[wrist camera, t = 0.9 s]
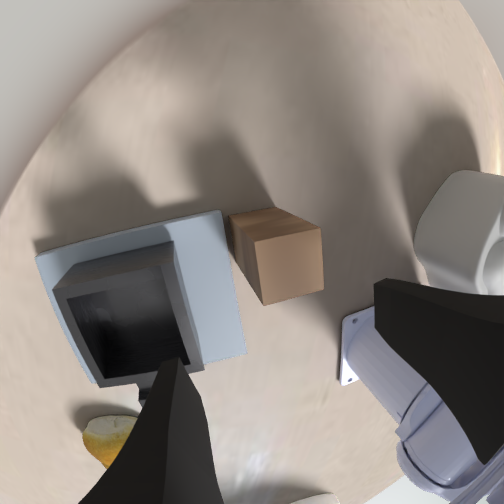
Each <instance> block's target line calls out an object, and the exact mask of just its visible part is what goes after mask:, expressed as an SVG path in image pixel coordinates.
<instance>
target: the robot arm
mask: <svg viewBox="0 0 504 504" xmlns="http://www.w3.org/2000/svg"><path fill="white" fill-rule="evenodd" d="M353 319H354V321H353ZM358 379H360V380H361V381H362V382H363V383H364V385H365V386H366V387H367V388H368V389H369V390H370V392H371V393H372V394H373V395H374V396H375V397H376V399H377V400H378V401H379V402H380V403H381V404H382V406H383V407H384V408H385V409H386V410H387V412H388V413H389V414H390V415H391V416H392V417H393V419H394V420H395V421H396V422H397V423H398V424H399V427H398V428H397V429H396V430H395V432H396V434H397V435H398V436H399V437H400V439H401V440H400V441H399V442H398V444H397V447H396V448H397V460H398V463H399V465H400V467H401V469H402V471H403V472H404V474H405V475H406V476H407V477H408V478H409V479H410V480H411V481H412V482H413V483H414V484H415V485H416V486H418V487H419V488H421V489H422V490H424V491H427V492H431V493H434V494H436V495H438V496H440V497H442V498H444V499H445V500H447V501H451V503H449V504H476V503H477V502H478V501H479V500H480V499H481V498H482V497H483V496H485V495H489V494H490V495H489V496H488V497H487V502H488V503H489V504H504V295H483V294H471V293H463V292H457V291H450V290H445V289H440V288H435V287H430V286H425V285H420V284H416V283H411V282H406V281H401V280H396V279H388V278H386V279H384V280H381V281H379V282H377V283H375V284H374V306H373V307H370V308H368V309H365V310H362V311H360V312H357V313H354V314H351V315H349V316H346V317H345V318H344V320H343V322H342V347H341V365H340V380H339V383H340V384H341V385H342V386H344V385H347V384H349V383H352V382H354V381H356V380H358ZM78 504H224V502H223V499H222V496H221V493H220V490H219V487H218V483H217V478H216V474H215V468H214V462H213V456H212V449H211V443H210V436H209V430H208V423H207V419H206V415H205V411H204V407H203V404H202V400H201V396H200V395H199V393H198V391H197V389H196V388H195V386H194V384H193V382H192V380H191V378H190V377H189V375H188V373H187V371H186V369H185V367H184V365H183V363H182V362H181V360H180V358H179V357H177V358H174V359H170V360H167V361H163V362H162V363H161V365H160V367H159V370H158V372H157V375H156V377H155V380H154V382H153V384H152V387H151V389H150V392H149V394H148V396H147V399H146V401H145V403H144V405H143V408H142V410H141V412H140V414H139V416H138V418H137V420H136V422H135V424H134V426H133V428H132V430H131V432H130V434H129V436H128V438H127V440H126V442H125V443H124V445H123V447H122V448H121V450H120V451H119V453H118V455H117V456H116V458H115V459H114V461H113V462H112V464H111V465H110V466H109V468H108V469H107V470H106V472H105V473H104V474H103V475H102V477H101V478H100V479H99V481H98V482H97V483H96V485H95V486H94V487H93V488H92V489H91V490H90V491H89V493H88V494H87V495H86V496H85V497H84V498H83V499H82V500H81V501H80V502H79V503H78Z"/></svg>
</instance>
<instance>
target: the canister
mask: <svg viewBox="0 0 504 504" xmlns="http://www.w3.org/2000/svg"><path fill="white" fill-rule="evenodd" d="M290 504H340V502H339V500H338V498H337V497H336V495H334V494H333V493H325V494H320V495H315V496H312V497H308V498H305V499H301V500H298V501H296V502H293V503H290Z"/></svg>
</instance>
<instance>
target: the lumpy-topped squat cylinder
mask: <svg viewBox="0 0 504 504" xmlns="http://www.w3.org/2000/svg"><path fill="white" fill-rule="evenodd" d="M414 251H415V255H416V257H417V259H418V260H419V261H420V263H421V264H422V265H423V267H424V268H425V271H426V274H427V278H428V282H429V284H430V286H431V287H435V288H440V289H445V290H450V291H457V292H463V293H471V294H483V295H504V176H500V175H494V174H489V173H483V172H477V171H471V170H461V171H457V172H454V173H452V174H451V175H450V176H449V177H448V178H447V179H446V181H445V182H444V183H443V184H442V186H441V187H440V188H439V190H438V191H437V192H436V194H435V195H434V197H433V198H432V200H431V201H430V203H429V205H428V206H427V208H426V209H425V211H424V212H423V214H422V216H421V218H420V220H419V223H418V225H417V229H416V232H415V238H414Z"/></svg>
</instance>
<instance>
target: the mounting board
mask: <svg viewBox="0 0 504 504" xmlns="http://www.w3.org/2000/svg"><path fill="white" fill-rule="evenodd" d="M173 240H174V243H175V247H176V252H177V256H178V260H179V264H180V269H181V273H182V277H183V281H184V285H185V288H186V292H187V296H188V300H189V304H190V307H191V311H192V315H193V318H194V322H195V325H196V329H197V332H198V337H199V342H200V348H201V353H202V358H203V364H207V363H212V362H216V361H220V360H224V359H228V358H232V357H236V356H240V355H244V354H247V349H246V344H245V339H244V333H243V328H242V323H241V318H240V313H239V307H238V302H237V297H236V291H235V286H234V281H233V275H232V270H231V264H230V259H229V253H228V247H227V242H226V236H225V230H224V224H223V218H222V212H221V211H220V210H214V211H209V212H204V213H199V214H195V215H190V216H185V217H181V218H176V219H171V220H167V221H162V222H158V223H154V224H149V225H145V226H141V227H136V228H132V229H128V230H124V231H120V232H116V233H112V234H108V235H104V236H100V237H96V238H92V239H89V240H85V241H81V242H77V243H74V244H70V245H66V246H63V247H59V248H56V249H52V250H49V251H45V252H42V253H40V254H39V255H37V256H36V257H35V261H36V264H37V267H38V270H39V273H40V275H41V278H42V281H43V284H44V286H45V289H46V292H47V294H48V297H49V299H50V302H51V304H52V306H53V309H54V311H55V313H56V316H57V318H58V320H59V322H60V325H61V327H62V329H63V331H64V333H65V335H66V337H67V339H68V341H69V343H70V345H71V347H72V349H73V351H74V353H75V355H76V357H77V359H78V361H79V362H80V364H81V366H82V368H83V370H84V371H85V373H86V375H87V377H88V378H89V380H90V382H91V383H97V382H96V381H95V379H94V377H93V375H92V374H91V372H90V370H89V368H88V367H87V365H86V363H85V361H84V359H83V357H82V355H81V354H80V352H79V350H78V348H77V346H76V344H75V342H74V340H73V338H72V335H71V333H70V331H69V329H68V327H67V325H66V323H65V320H64V318H63V316H62V314H61V311H60V309H59V306H58V304H57V302H56V299H55V297H54V294H53V291H52V289H53V288H54V286H55V285H56V284H57V283H58V282H59V280H60V279H61V278H62V277H63V276H64V275H65V273H66V272H67V271H68V270H69V269H70V268H71V267H72V265H73V264H76V263H80V262H84V261H88V260H92V259H96V258H100V257H104V256H108V255H112V254H116V253H121V252H125V251H129V250H133V249H138V248H142V247H146V246H151V245H155V244H159V243H164V242H168V241H173Z"/></svg>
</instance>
